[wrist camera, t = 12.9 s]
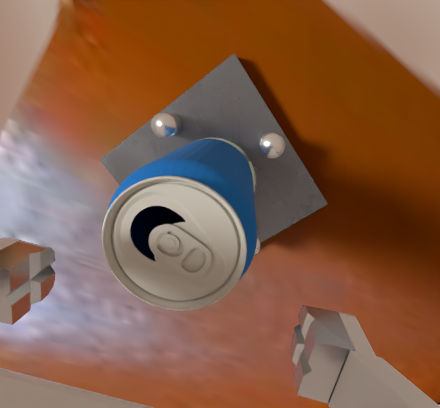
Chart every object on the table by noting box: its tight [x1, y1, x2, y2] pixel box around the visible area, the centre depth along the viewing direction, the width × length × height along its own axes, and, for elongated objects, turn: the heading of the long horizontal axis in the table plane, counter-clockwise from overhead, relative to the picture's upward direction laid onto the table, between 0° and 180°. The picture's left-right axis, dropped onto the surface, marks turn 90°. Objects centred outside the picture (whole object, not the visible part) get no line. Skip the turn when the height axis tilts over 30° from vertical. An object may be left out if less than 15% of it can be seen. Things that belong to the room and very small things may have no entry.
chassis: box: [100, 53, 328, 255], centre depth 22 cm, size 13×13×4 cm
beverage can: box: [102, 139, 257, 311], centre depth 16 cm, size 6×6×12 cm
